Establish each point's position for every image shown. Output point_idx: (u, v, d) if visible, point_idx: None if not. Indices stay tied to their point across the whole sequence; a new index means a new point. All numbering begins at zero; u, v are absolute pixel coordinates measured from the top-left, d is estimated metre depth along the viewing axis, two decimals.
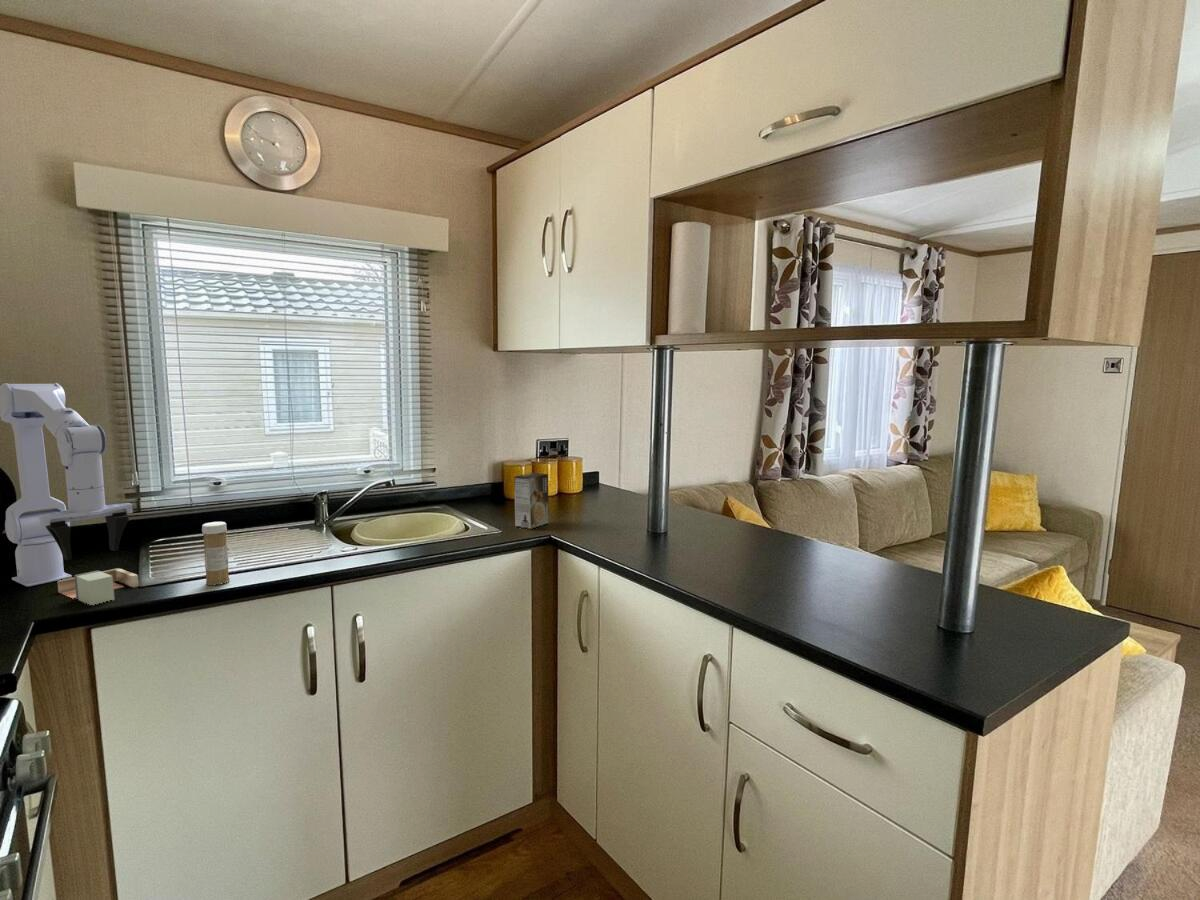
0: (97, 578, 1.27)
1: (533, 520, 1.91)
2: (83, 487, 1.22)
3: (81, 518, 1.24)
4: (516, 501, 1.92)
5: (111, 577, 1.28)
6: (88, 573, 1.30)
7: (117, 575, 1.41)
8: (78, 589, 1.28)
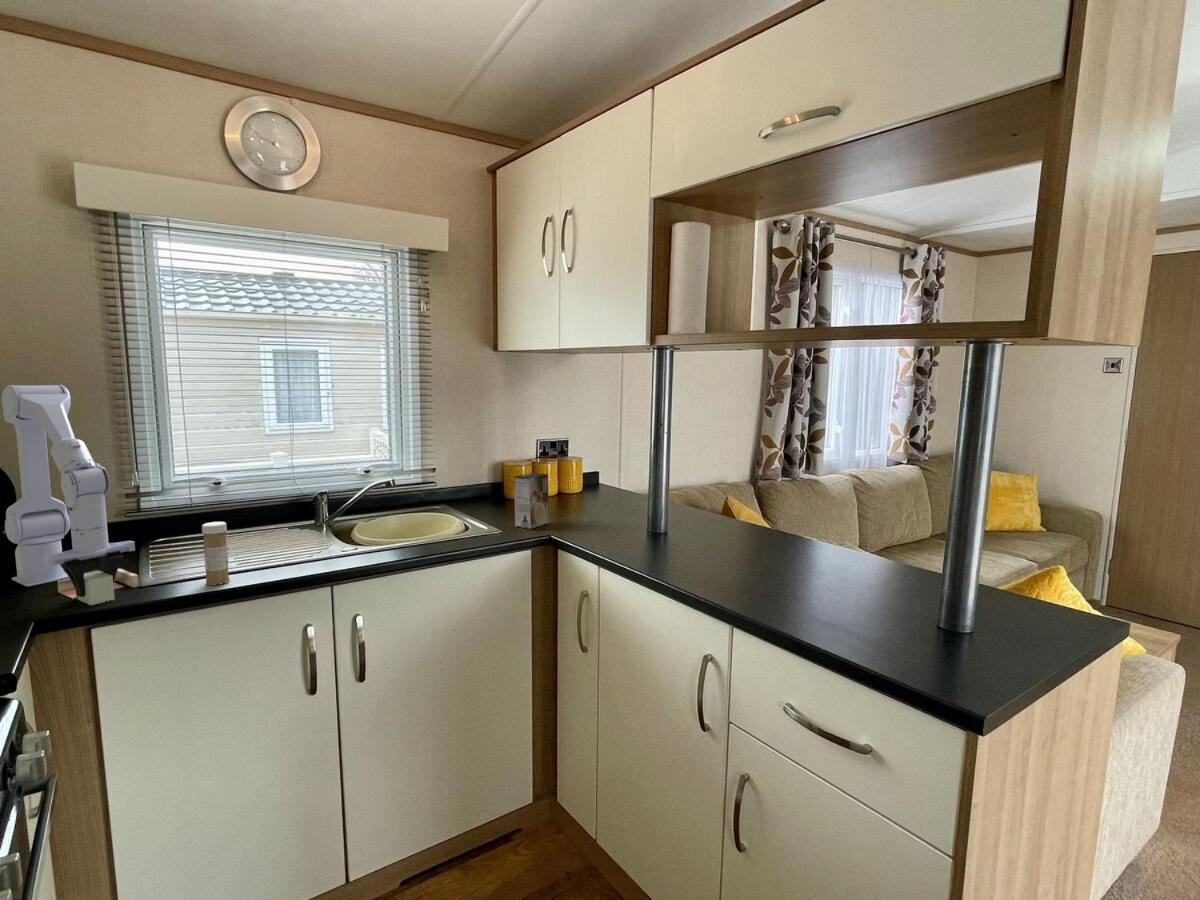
0: (97, 578, 1.27)
1: (533, 520, 1.91)
2: (87, 528, 1.25)
3: (85, 557, 1.27)
4: (516, 501, 1.92)
5: (111, 577, 1.28)
6: (88, 573, 1.30)
7: (117, 575, 1.41)
8: None
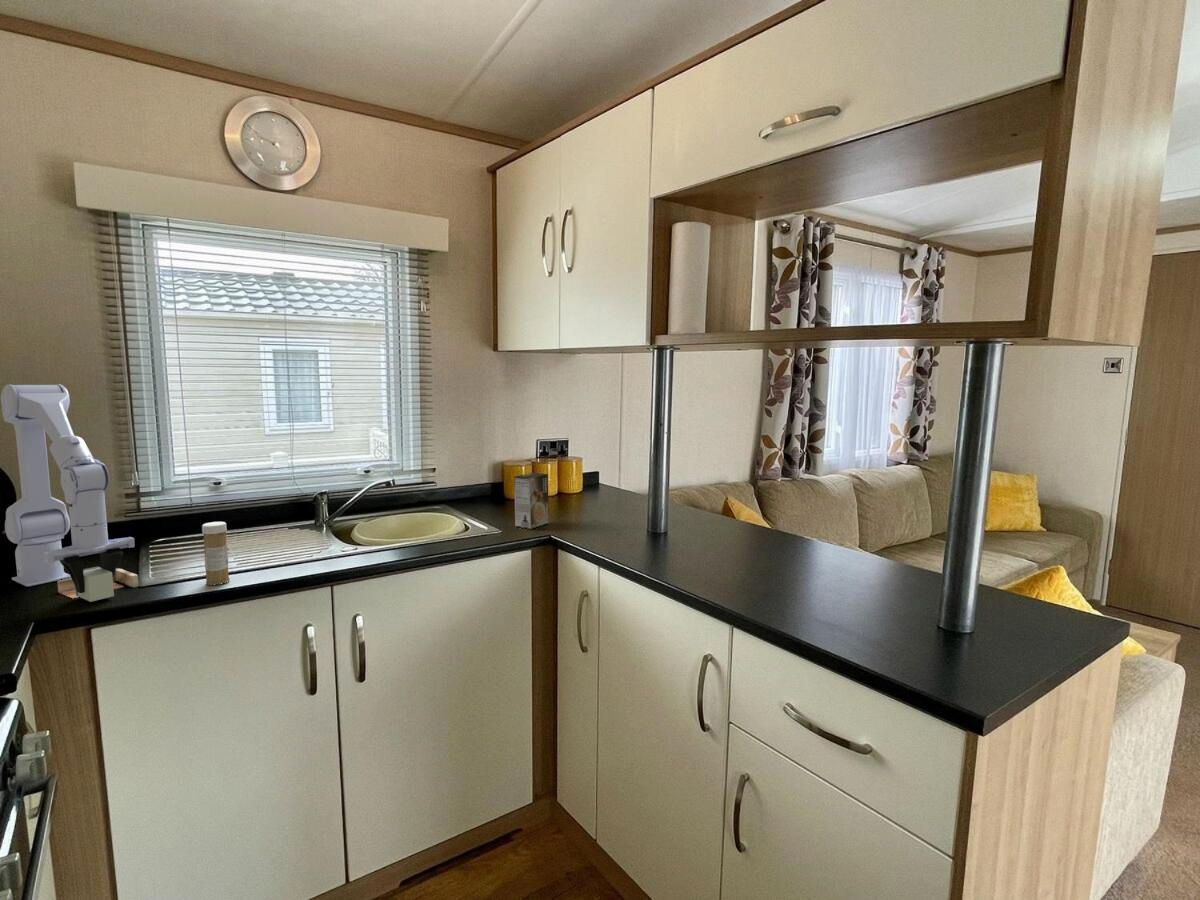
0: (97, 574, 1.27)
1: (533, 520, 1.91)
2: (87, 524, 1.25)
3: (84, 554, 1.27)
4: (516, 501, 1.92)
5: (111, 573, 1.28)
6: (88, 569, 1.30)
7: (117, 575, 1.41)
8: None
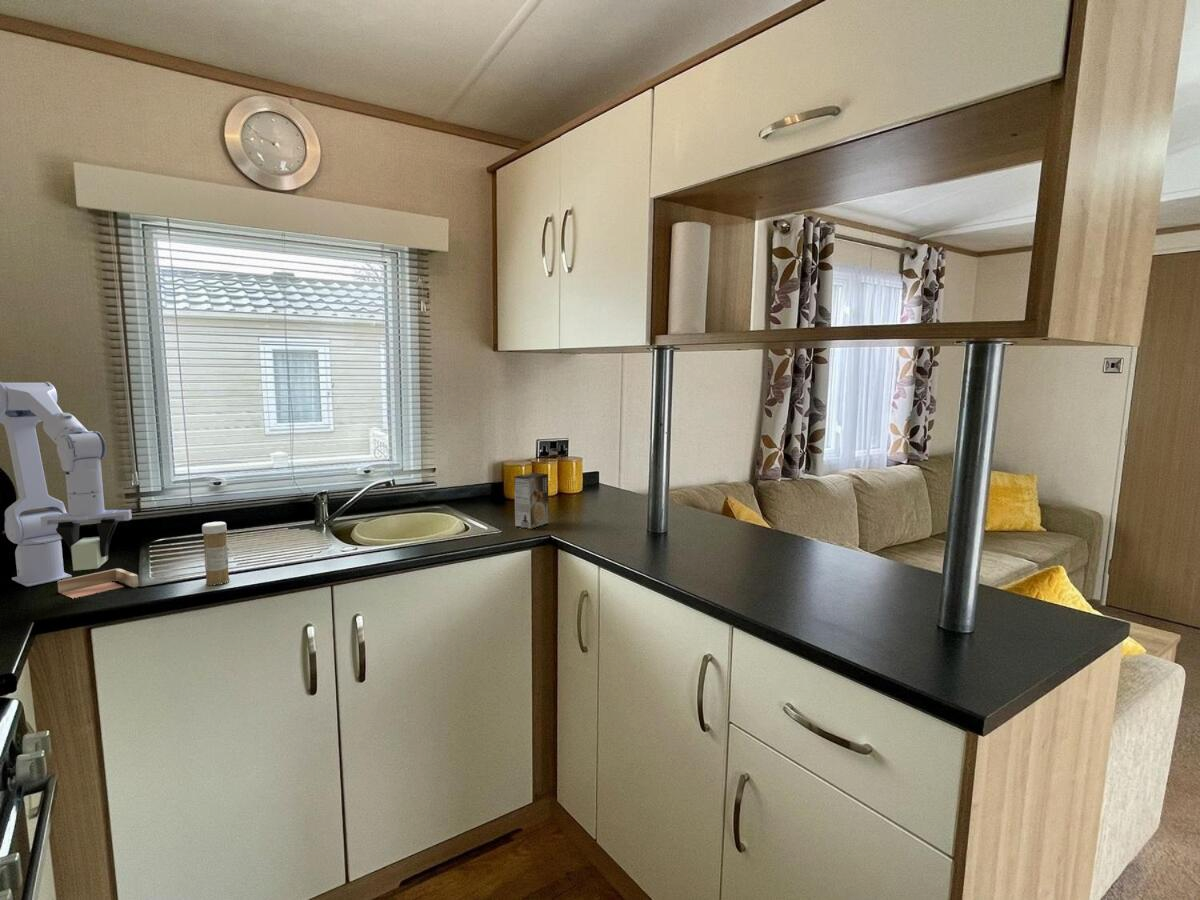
0: (82, 544, 1.27)
1: (533, 520, 1.91)
2: (84, 492, 1.27)
3: (80, 521, 1.29)
4: (516, 501, 1.92)
5: (94, 545, 1.27)
6: (93, 538, 1.32)
7: (117, 575, 1.41)
8: None
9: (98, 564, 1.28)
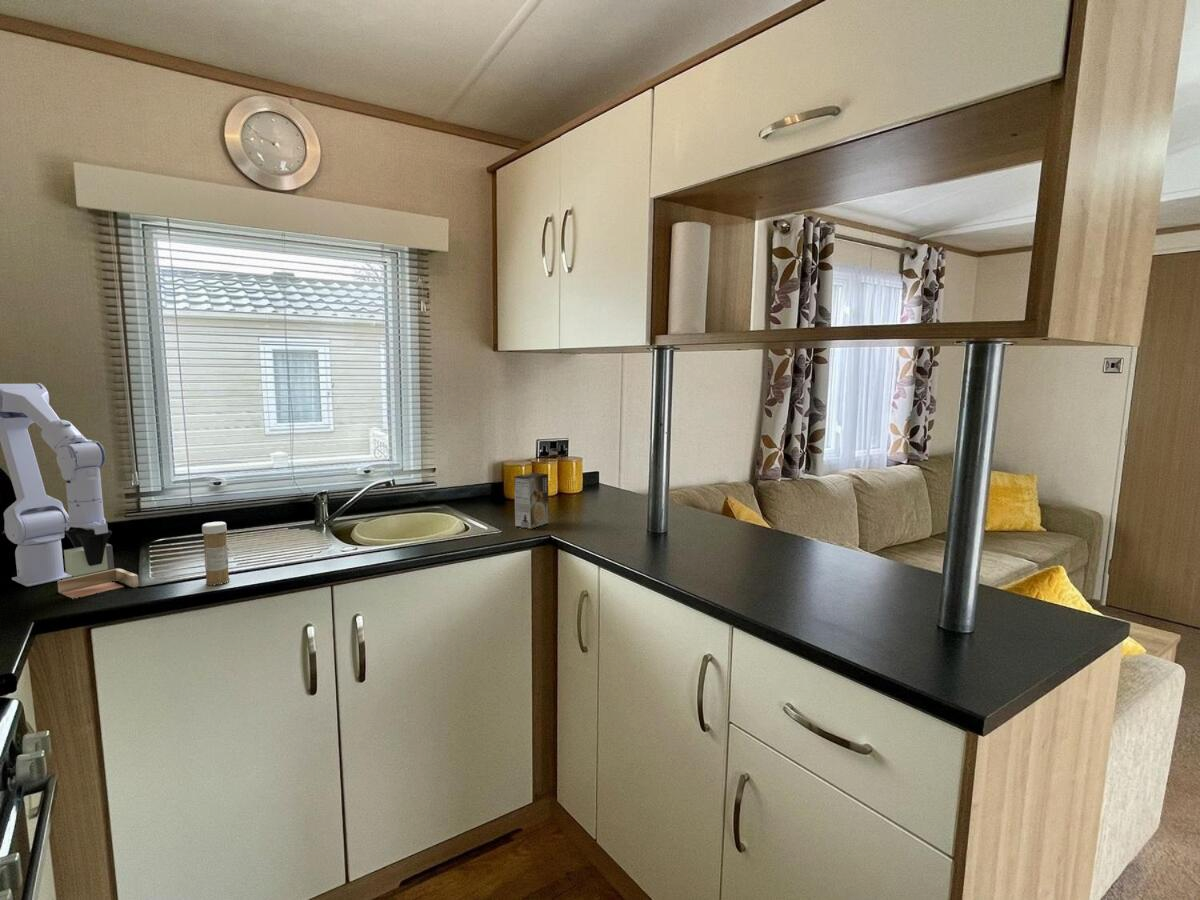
0: (71, 550, 1.31)
1: (533, 520, 1.91)
2: (85, 499, 1.30)
3: None
4: (516, 501, 1.92)
5: (71, 553, 1.29)
6: None
7: (117, 575, 1.41)
8: None
9: (76, 572, 1.30)
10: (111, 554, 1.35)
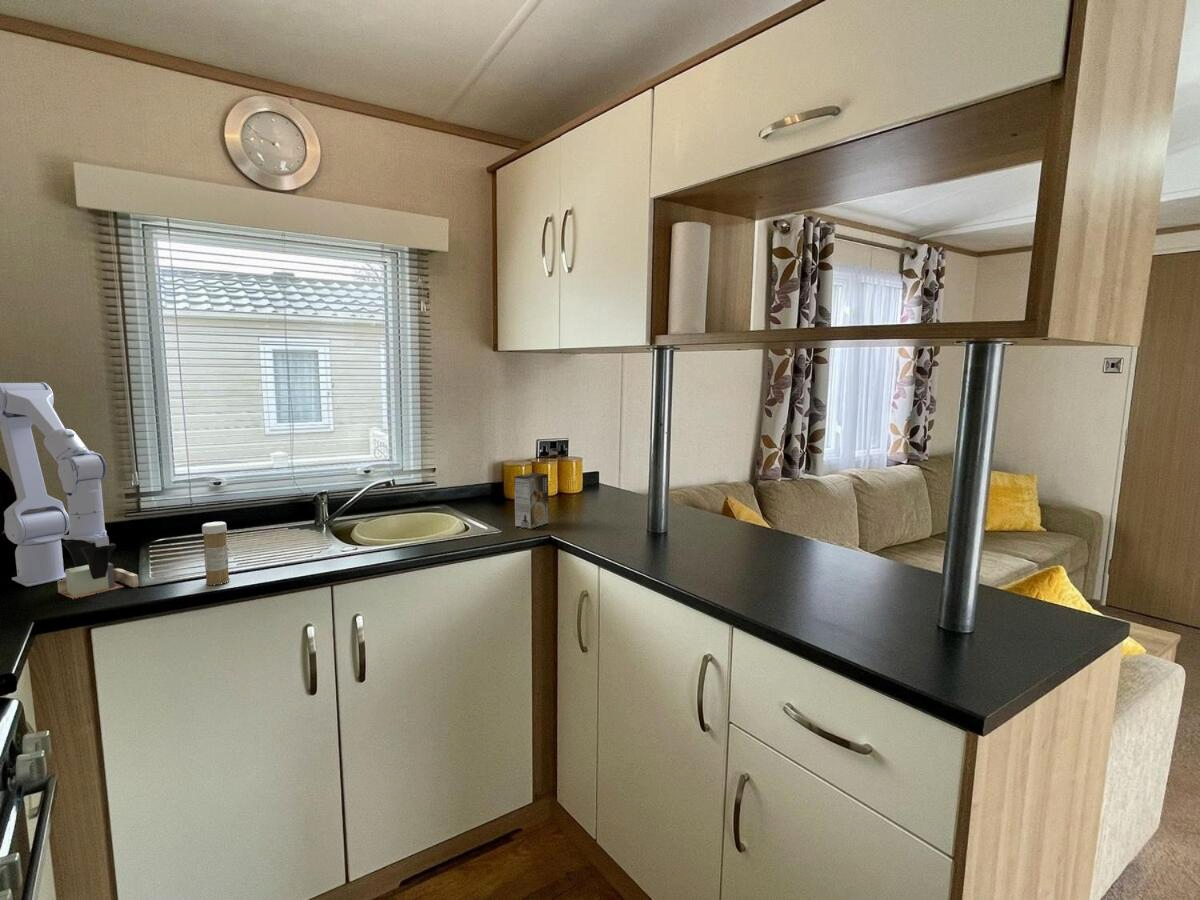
0: (72, 569, 1.32)
1: (533, 520, 1.91)
2: (87, 512, 1.31)
3: None
4: (516, 501, 1.92)
5: (72, 573, 1.30)
6: None
7: (117, 575, 1.41)
8: None
9: (77, 592, 1.31)
10: (112, 573, 1.36)
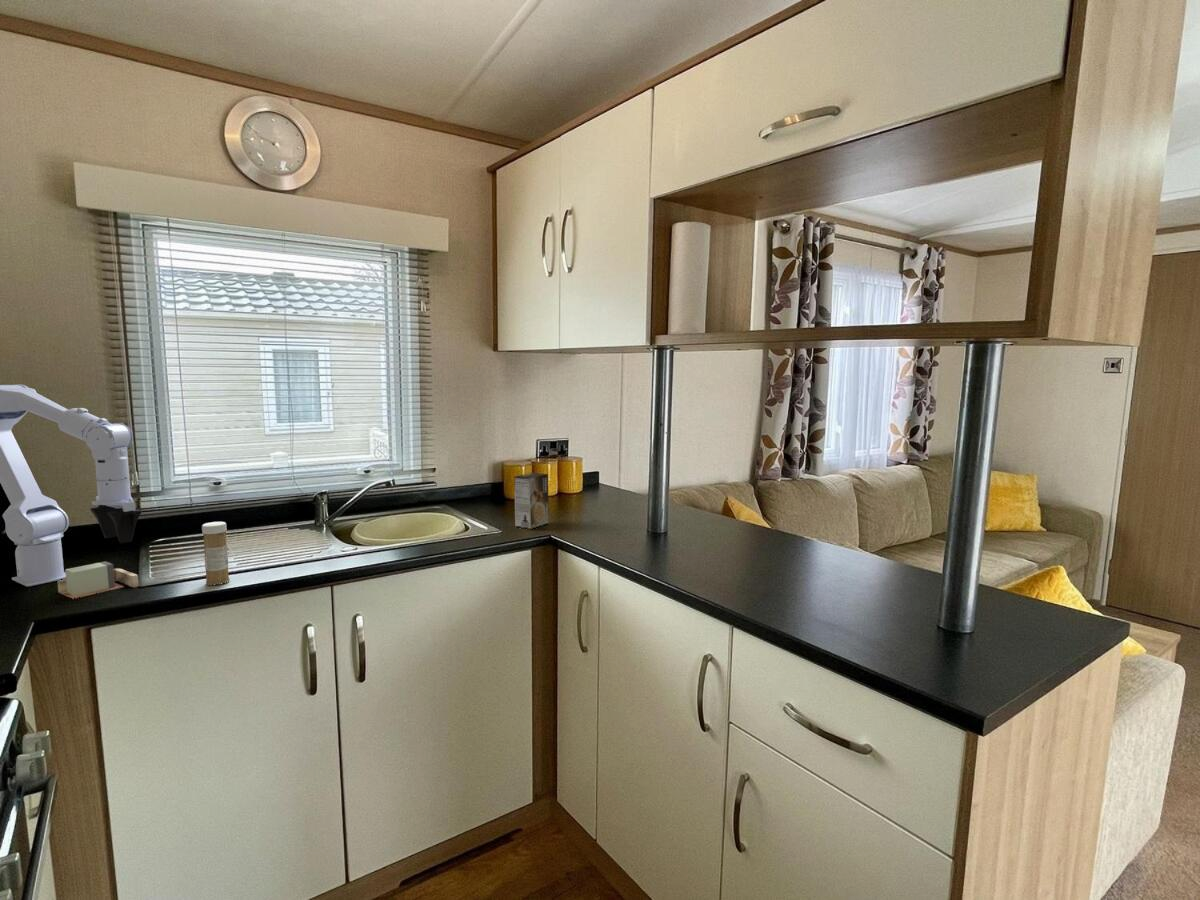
0: (72, 569, 1.32)
1: (533, 520, 1.91)
2: (120, 478, 1.37)
3: (111, 505, 1.39)
4: (516, 501, 1.92)
5: (72, 573, 1.30)
6: (104, 563, 1.36)
7: (117, 575, 1.41)
8: None
9: (77, 592, 1.31)
10: (112, 573, 1.36)
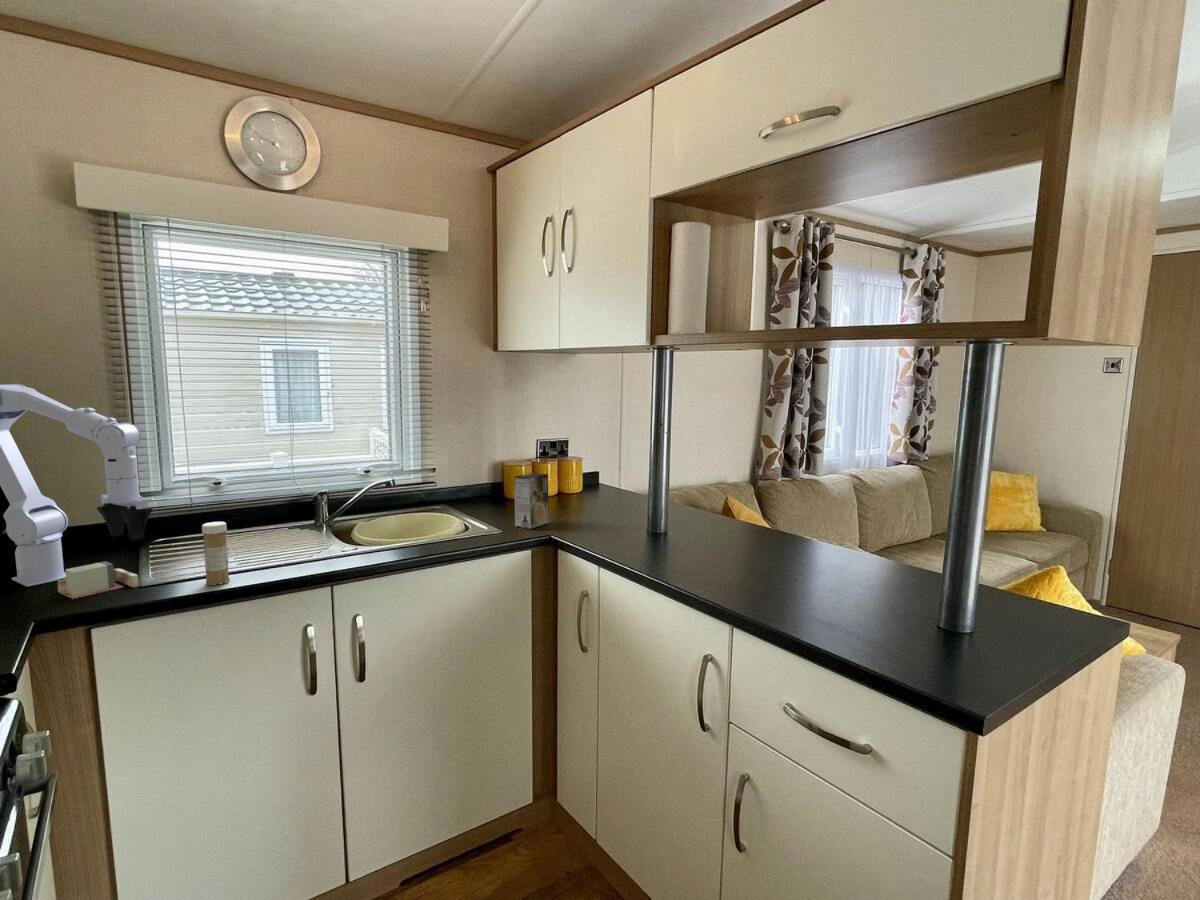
0: (72, 569, 1.32)
1: (533, 520, 1.91)
2: (130, 476, 1.39)
3: (119, 504, 1.41)
4: (516, 501, 1.92)
5: (72, 573, 1.30)
6: (104, 563, 1.36)
7: (117, 575, 1.41)
8: None
9: (77, 592, 1.31)
10: (112, 573, 1.36)
